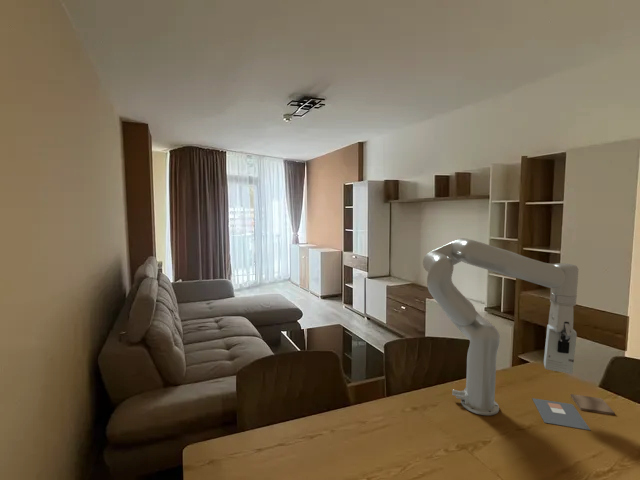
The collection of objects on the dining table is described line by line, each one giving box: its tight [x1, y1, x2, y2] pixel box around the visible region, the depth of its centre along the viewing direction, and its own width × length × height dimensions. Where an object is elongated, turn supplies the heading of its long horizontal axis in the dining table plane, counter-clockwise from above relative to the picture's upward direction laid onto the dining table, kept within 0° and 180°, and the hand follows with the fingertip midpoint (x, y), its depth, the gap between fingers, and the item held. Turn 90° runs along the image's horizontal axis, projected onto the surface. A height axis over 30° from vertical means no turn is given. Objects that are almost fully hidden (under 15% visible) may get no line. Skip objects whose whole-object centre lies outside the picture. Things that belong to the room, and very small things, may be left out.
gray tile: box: [532, 397, 592, 431], centre depth 122 cm, size 13×16×1 cm
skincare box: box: [543, 324, 578, 375], centre depth 123 cm, size 8×6×15 cm
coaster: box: [570, 393, 616, 416], centre depth 128 cm, size 10×10×1 cm
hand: (559, 348), depth 123 cm, fingers closed on skincare box, 6 cm apart
